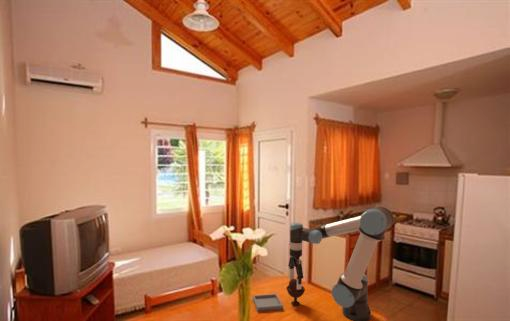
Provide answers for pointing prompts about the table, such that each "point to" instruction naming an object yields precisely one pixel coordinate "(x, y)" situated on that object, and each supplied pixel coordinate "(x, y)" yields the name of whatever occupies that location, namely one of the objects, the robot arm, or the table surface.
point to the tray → (267, 302)
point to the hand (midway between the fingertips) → (295, 284)
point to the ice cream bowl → (295, 291)
